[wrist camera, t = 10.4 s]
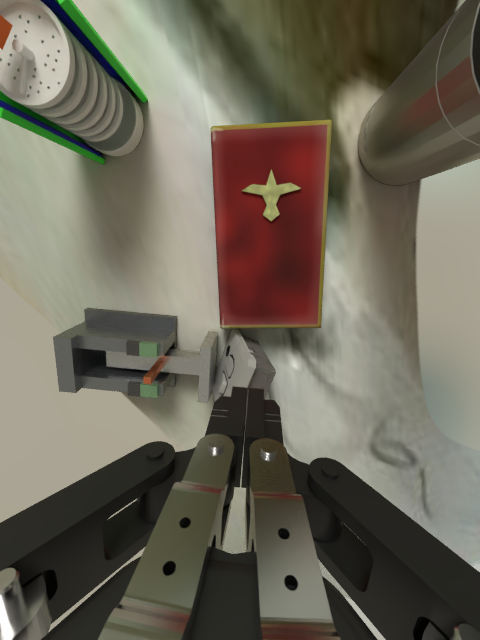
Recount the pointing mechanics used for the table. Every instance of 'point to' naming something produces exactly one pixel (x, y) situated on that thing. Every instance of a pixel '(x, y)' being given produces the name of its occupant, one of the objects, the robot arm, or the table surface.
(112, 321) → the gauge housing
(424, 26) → the table surface
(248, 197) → the hardcover book
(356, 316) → the table surface
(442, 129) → the robot arm
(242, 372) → the electrical switch
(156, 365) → the plunger
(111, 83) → the green-shelled ribbed roller
